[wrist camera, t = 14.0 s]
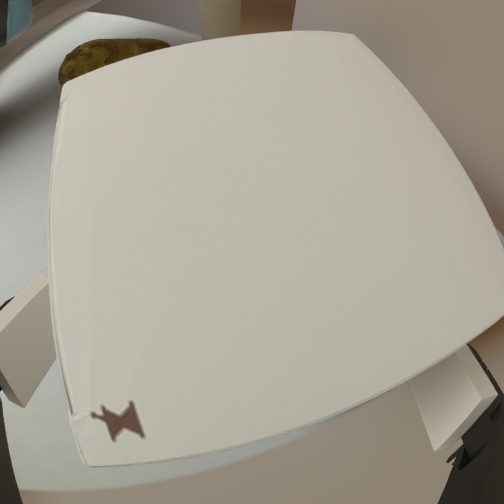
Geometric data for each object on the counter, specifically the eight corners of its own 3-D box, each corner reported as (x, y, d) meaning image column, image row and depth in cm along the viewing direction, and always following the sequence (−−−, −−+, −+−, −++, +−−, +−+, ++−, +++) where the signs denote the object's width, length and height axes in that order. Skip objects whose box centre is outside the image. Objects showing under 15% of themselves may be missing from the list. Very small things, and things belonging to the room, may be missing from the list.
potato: (178, 97, 29) (167, 38, 21) (71, 125, 27) (44, 76, 20) (175, 59, 31) (168, 8, 24) (82, 84, 30) (63, 39, 23)
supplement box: (329, 352, 20) (535, 314, 4) (202, 392, 19) (84, 495, 3) (287, 230, 23) (357, 25, 7) (168, 263, 22) (56, 75, 6)
